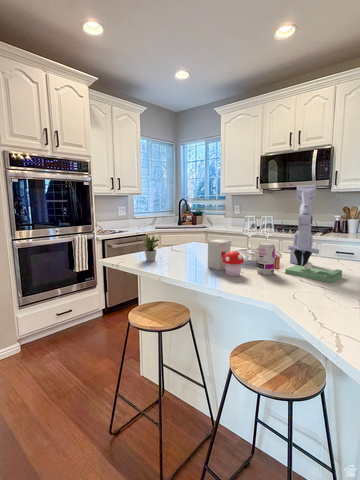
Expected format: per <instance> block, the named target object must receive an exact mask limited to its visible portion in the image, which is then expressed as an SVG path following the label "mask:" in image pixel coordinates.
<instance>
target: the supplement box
mask: <svg viewBox="0 0 360 480" xmlns="http://www.w3.org/2000/svg"><path fill="white" fill-rule="evenodd" d="M231 242H232V241H231V240H227V239H226V240H225V239H220V238H219V239H218V238H217V239H212V240H208V241H207V268H208V269H213V270H217V271H222V270H226V268H225V267H226V263H223V262H222V260H223V256H224V255H225V254H226V253H227V252H229V251H231V244H232V243H231Z"/></svg>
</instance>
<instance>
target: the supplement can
mask: <svg viewBox="0 0 360 480" xmlns="http://www.w3.org/2000/svg"><path fill="white" fill-rule="evenodd" d="M275 255H276V246H275V244H274V243H272V242H260V243H259V244H258V246H257V263H256V267H257V268H256V272H257V273H258V274H259V275H264V276H270V275H273V274H274V273H275V261H276V259H275V258H276V256H275Z"/></svg>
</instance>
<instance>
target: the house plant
mask: <svg viewBox="0 0 360 480" xmlns="http://www.w3.org/2000/svg"><path fill="white" fill-rule="evenodd" d="M155 238H156V239H155ZM161 238H162V237H156V235H155V234H153V235H152V237H151V236H150V234H148V236H144V238H142V241H144V243H145V244H143V243H141V244H140V246H144V247H146V249H145V250H144V253H145V259H146V261H147V262H155V261H156V255H157V249H155V248H156V247H157V246H158V247H160V244H159V242H158V241H160V240H161ZM156 242H158V243H156ZM154 260H155V261H154Z"/></svg>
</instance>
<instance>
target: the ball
mask: <svg viewBox="0 0 360 480" xmlns="http://www.w3.org/2000/svg"><path fill="white" fill-rule="evenodd" d="M312 268H313V266H312V263H311V264H309V263H306V264H305V266H304V269H305V270H311V269H312Z"/></svg>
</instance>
